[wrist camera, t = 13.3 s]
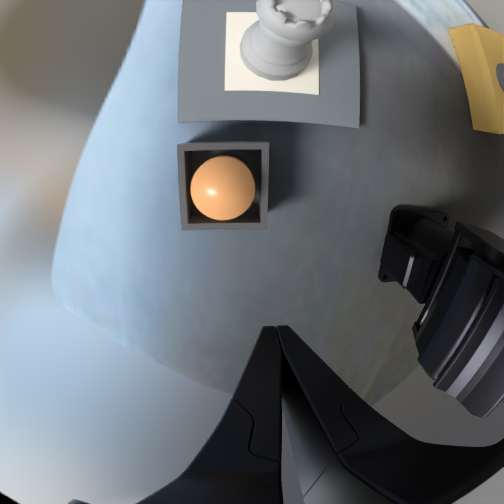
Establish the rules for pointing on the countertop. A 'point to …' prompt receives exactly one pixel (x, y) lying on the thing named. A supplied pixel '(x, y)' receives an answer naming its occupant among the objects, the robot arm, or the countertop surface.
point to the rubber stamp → (482, 74)
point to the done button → (223, 187)
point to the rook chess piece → (284, 36)
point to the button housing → (197, 155)
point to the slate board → (257, 88)
